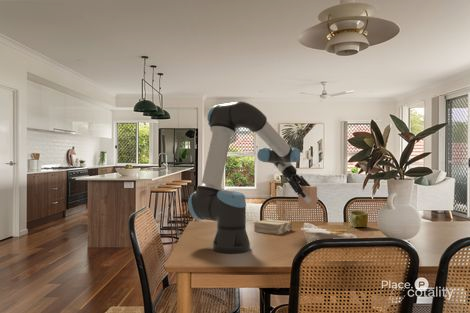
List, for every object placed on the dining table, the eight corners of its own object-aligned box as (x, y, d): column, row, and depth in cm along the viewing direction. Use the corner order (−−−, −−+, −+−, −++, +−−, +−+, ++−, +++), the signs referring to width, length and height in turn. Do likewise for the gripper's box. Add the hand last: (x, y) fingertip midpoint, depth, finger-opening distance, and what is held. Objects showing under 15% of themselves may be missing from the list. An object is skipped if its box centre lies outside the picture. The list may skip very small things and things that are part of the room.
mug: (353, 220, 201) (356, 205, 198) (369, 228, 194) (373, 212, 190) (341, 227, 193) (344, 211, 190) (357, 236, 186) (361, 219, 183)
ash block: (277, 235, 172) (277, 225, 172) (254, 231, 181) (254, 222, 181) (291, 230, 183) (291, 221, 183) (269, 227, 192) (269, 218, 192)
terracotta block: (309, 208, 179) (309, 187, 180) (298, 207, 184) (298, 186, 184) (316, 207, 184) (316, 186, 185) (305, 206, 189) (305, 185, 189)
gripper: (293, 173, 202) (318, 204, 191) (272, 174, 188) (298, 207, 176) (301, 164, 199) (327, 195, 188) (280, 164, 184) (307, 197, 173)
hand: (313, 201), depth 182 cm, fingers closed on terracotta block, 7 cm apart
